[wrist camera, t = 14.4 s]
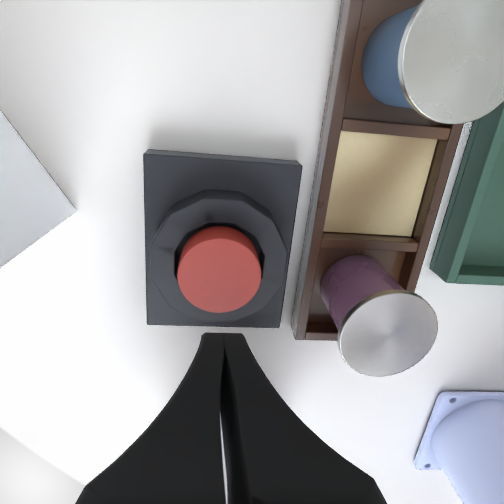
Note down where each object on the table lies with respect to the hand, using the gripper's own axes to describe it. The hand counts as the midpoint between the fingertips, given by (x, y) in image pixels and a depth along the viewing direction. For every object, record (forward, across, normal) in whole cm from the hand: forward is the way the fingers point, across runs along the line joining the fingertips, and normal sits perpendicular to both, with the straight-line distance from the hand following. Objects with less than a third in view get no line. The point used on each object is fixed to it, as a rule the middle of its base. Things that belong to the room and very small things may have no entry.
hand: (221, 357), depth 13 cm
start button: (+8, 0, 0) cm, 8 cm away
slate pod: (+10, -8, -10) cm, 17 cm away
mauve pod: (+10, -8, +2) cm, 13 cm away
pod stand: (+10, -8, -4) cm, 14 cm away
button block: (+10, 0, 0) cm, 10 cm away
